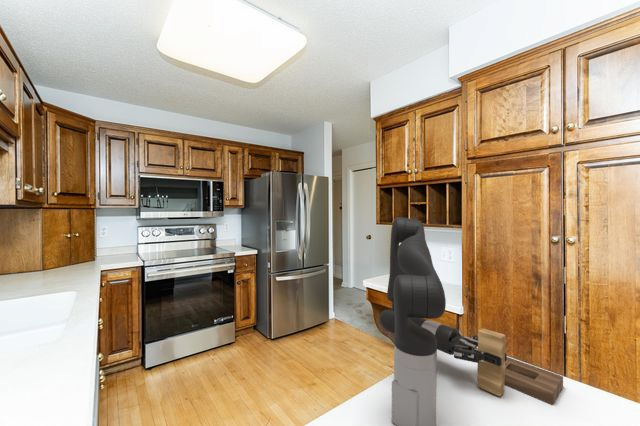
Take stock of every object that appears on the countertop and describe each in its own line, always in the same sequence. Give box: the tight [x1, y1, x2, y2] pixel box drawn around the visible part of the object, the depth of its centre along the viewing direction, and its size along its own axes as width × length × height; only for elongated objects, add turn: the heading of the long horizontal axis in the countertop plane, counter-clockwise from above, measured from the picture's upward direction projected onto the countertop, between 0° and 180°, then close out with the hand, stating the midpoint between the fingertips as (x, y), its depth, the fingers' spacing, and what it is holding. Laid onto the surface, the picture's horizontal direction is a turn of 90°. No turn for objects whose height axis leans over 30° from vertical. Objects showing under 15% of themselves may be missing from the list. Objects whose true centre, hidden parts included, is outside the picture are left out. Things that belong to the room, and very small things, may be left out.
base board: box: [504, 356, 564, 406], centre depth 81 cm, size 11×16×3 cm
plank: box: [476, 327, 506, 397], centre depth 77 cm, size 3×6×15 cm, turn 40°
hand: (503, 359), depth 74 cm, fingers closed on plank, 3 cm apart
